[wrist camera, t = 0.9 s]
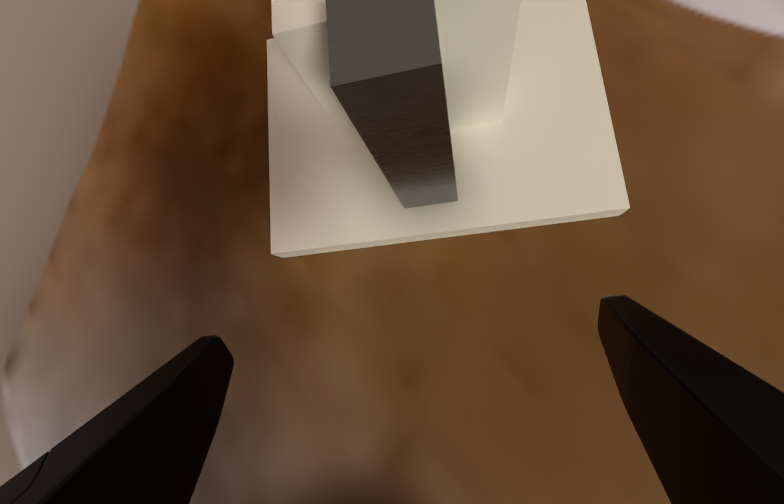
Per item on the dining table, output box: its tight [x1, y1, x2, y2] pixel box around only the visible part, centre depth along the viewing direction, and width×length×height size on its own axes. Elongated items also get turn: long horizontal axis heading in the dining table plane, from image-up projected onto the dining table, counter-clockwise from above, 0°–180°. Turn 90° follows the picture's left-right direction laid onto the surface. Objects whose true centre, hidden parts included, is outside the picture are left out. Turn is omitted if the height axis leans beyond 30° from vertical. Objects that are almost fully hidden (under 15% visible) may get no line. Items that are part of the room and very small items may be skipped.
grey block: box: [325, 0, 458, 208], centre depth 17 cm, size 12×3×12 cm, turn 5°
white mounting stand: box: [267, 0, 630, 258], centre depth 19 cm, size 15×20×11 cm
